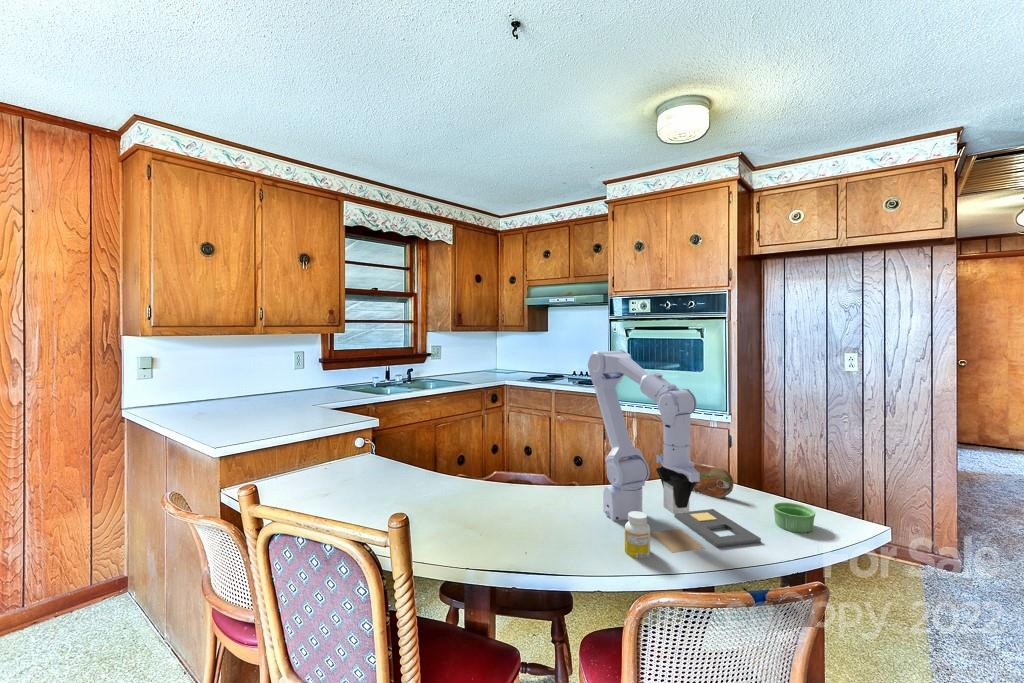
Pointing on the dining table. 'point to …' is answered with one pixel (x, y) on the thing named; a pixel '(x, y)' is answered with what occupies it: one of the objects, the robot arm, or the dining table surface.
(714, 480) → the tin
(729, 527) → the rack plate
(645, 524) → the supplement bottle
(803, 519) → the ramekin
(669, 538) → the pad
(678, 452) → the robot arm
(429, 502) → the dining table surface
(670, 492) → the steel peg
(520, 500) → the dining table surface
